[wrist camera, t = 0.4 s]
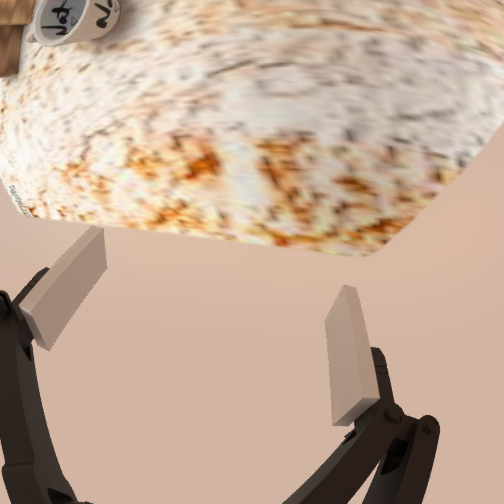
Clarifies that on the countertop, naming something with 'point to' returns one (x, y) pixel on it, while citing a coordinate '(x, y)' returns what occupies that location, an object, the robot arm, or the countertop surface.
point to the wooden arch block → (16, 12)
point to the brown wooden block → (10, 49)
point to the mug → (72, 21)
